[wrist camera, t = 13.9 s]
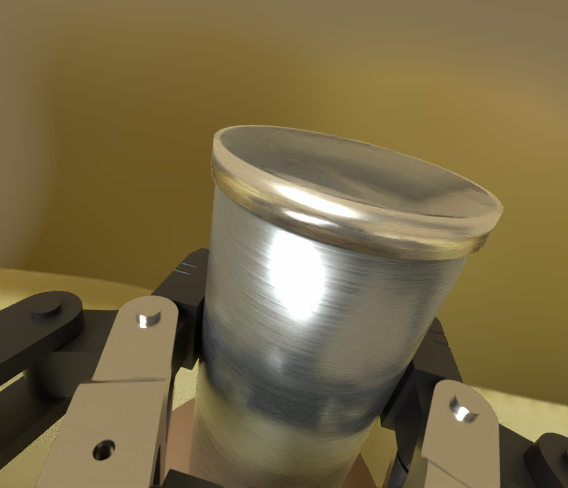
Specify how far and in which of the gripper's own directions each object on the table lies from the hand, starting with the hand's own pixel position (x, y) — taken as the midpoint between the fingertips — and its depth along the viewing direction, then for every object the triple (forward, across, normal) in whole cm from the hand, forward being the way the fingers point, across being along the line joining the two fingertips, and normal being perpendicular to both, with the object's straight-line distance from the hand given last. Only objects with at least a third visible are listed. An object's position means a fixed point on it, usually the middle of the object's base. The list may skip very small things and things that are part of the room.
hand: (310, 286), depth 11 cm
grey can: (-3, 0, -7) cm, 7 cm away
